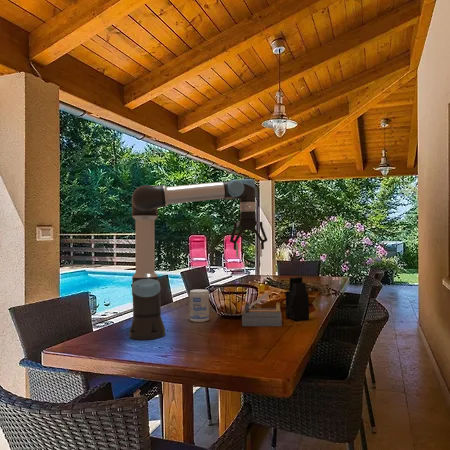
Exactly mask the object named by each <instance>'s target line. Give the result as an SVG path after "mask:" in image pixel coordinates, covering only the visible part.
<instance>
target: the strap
mask: <svg viewBox="0 0 450 450" xmlns="http://www.w3.org/2000/svg"><path fill="white" fill-rule="evenodd" d="M273 292H274V288H271V289H270V290H269V291H267V292H266V293H264V294H263V295H262V296H260V297H259V298H257V299H256V300H255V301H253V302H252V303H251V304H250V303H249V306H248V309H249V308H253V307H254V306H255V305H256V304H257V303H259V302H260V301H262V300H263V299H265V298H266V297H268V296H269V295H270V294H272V293H273Z"/></svg>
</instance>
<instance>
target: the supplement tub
mask: <svg viewBox="0 0 450 450" xmlns="http://www.w3.org/2000/svg"><path fill="white" fill-rule="evenodd" d="M189 320H190V321H191V322H193V323H202V322H203V323H204V322H207V321H209V320H210V291H209V290H208V289H203V288H202V289H196V288H195V289H192V290H190V291H189Z"/></svg>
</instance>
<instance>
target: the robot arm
mask: <svg viewBox="0 0 450 450" xmlns="http://www.w3.org/2000/svg"><path fill="white" fill-rule="evenodd" d="M209 200H239V210H240V212H239V215H240V218H239V219H240V221H239V222H235V221H234V222H233V230H232V233H231V236H230V238H229V242H230V243H233V250H234V251H235V256H236V258H238V257H239V243H238V241H239V239H240V237H241V236H242V234H243V232H244V231H253V233H254V234H255V235H256V237H257V238H258V239H259V241H260V242H259V257H260V258H261V257H262V256H263V254H262V253H263V251H262V250H264V249H265V242H268V238H267V235H266V232H265V229H264V227H263V221H257V213H256V183H255V180H254V179H253V178H252V179H251V178H241V179H240V180H239V179H231V180H225V181H215V182H203V183H192V184H184V185H182V184H181V185H175V186H174V185H173V186H165V185H164V184H160V185H152V184H151V185H149V184H147V185H146V184H145V185H141V186H139V187H137V188H135V190H134V191H133V193H132V195H131V217H132V218H133V219H134V220H135V273H134V274H133V275H132V276H131V278H132V281H131V284H132V285H131V286H132V287H131V295H132V322H131V324H130V327H129V333H128V335H129V338H130V339H133V340H136V341H137V340H139V341H142V340H144V341H145V340H146V341H147V340H155V339H160V338H162V337H164V336H165V335H166V327H165V325H164V322H163V319H162V314H161V313H162V309H161V289H162V288H161V283H160V281H159V275H158V274H157V273H156V272H155V271H156V269H155V266H156V265H155V256H156V255H155V251H156V250H155V249H156V248H155V244H156V243H155V220H156V219H157V218H158V217H159V216H158V213H159V211H158V210H159V208H160V209H161V208H166V207H168V205H173V204H174V205H175V204H184V203H193V202H203V201H209ZM257 225H258V227H259V230H260V232H261V234H262V236H261V235H260V233H259V231H258V230H257V228H256V226H257ZM239 226H240V227H241V229H240V230H239V232H238V234H237V235H236V231H237V229H238V227H239ZM235 235H236V237H235ZM262 237H263V238H262Z"/></svg>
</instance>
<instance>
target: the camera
mask: <svg viewBox="0 0 450 450" xmlns="http://www.w3.org/2000/svg"><path fill="white" fill-rule="evenodd" d="M303 278H304V277H289V289H288V291H285V292H284V296H285V307H284V310H285V313H284V315H285V317H288V318H290V319H291V320H293V321H294V322H295V321H297V322H298V321H306V320H309V319H310V300H309V299H310V298H309V292H308V291H307V287H306V283H305V282H303Z"/></svg>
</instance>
